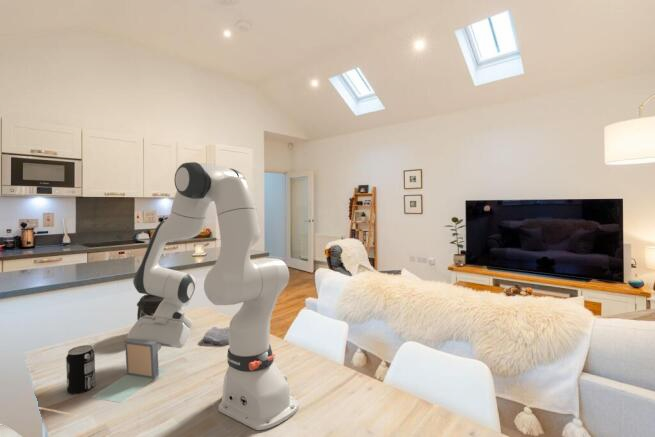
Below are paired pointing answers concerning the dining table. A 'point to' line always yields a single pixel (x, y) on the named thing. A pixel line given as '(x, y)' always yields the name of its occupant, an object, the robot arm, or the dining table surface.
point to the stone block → (217, 336)
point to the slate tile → (142, 358)
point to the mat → (123, 388)
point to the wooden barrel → (148, 305)
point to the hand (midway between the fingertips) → (146, 357)
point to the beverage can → (80, 369)
